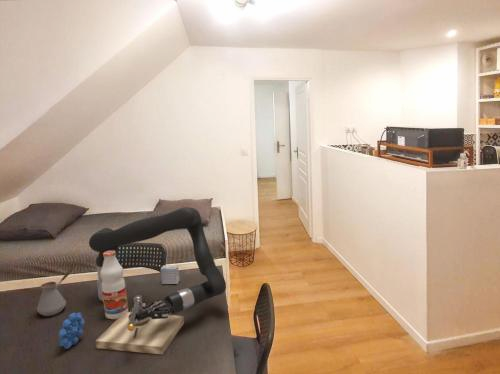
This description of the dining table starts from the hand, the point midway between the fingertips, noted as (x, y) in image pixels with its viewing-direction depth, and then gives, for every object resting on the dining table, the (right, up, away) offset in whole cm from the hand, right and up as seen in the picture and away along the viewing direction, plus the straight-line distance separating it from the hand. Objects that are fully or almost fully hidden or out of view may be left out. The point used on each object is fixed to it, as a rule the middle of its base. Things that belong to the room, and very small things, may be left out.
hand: (136, 317), depth 130 cm
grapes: (-26, -12, +4) cm, 29 cm away
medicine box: (+1, -2, +52) cm, 52 cm away
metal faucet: (-1, -7, +5) cm, 9 cm away
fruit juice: (-16, -8, +25) cm, 30 cm away
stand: (0, -10, +8) cm, 12 cm away
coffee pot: (-45, -7, +34) cm, 57 cm away
